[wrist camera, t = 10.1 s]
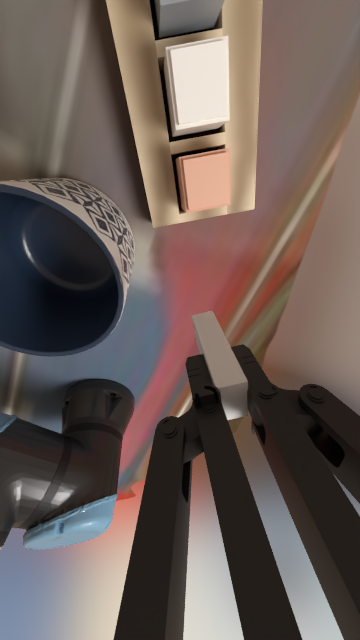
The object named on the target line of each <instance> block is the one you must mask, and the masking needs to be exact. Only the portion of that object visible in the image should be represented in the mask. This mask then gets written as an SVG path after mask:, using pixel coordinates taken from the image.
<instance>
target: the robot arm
mask: <svg viewBox="0 0 360 640" xmlns="http://www.w3.org/2000/svg"><path fill="white" fill-rule="evenodd" d="M192 319H193V325H194V330H195V336H196V341H197V346H198V349H199V352H200V355H196V356H192V357H188V358H187V361H186V369H187V373H188V378H189V383H190V387H191V392H192V399H193V403H192V406H191V408H190V409H189V411H188V412H186V413H185V414H184V415H182V416H180V417H178V418H177V417H173V416H170V417H166V418H164V419H162V420H161V421H160V422H159V423H158V425H157V427H156V430H155V435H154V440H153V445H152V450H151V455H150V460H149V465H148V470H147V475H146V481H145V485H144V491H143V495H142V500H141V505H140V511H139V515H138V521H137V526H136V530H135V536H134V540H133V545H132V551H131V556H130V560H129V566H128V570H127V575H126V581H125V585H124V591H123V596H122V600H121V605H120V611H119V615H118V620H117V626H116V630H115V636H114V640H183V630H184V611H185V591H186V573H187V555H188V536H189V535H188V534H189V516H190V498H191V478H192V461H193V458H195V457H196V456H198V455H199V454H201V453H202V452H204V454H205V459H206V463H207V468H208V473H209V477H210V482H211V487H212V491H213V496H214V501H215V505H216V510H217V515H218V519H219V524H220V528H221V533H222V537H223V543H224V547H225V552H226V556H227V561H228V566H229V571H230V575H231V580H232V584H233V589H234V594H235V599H236V603H237V608H238V613H239V617H240V622H241V627H242V631H243V636H244V640H302V638H301V634H300V631H299V628H298V626H297V623H296V620H295V617H294V614H293V611H292V608H291V605H290V602H289V599H288V596H287V593H286V591H285V587H284V584H283V582H282V578H281V576H280V573H279V570H278V567H277V564H276V561H275V558H274V555H273V552H272V549H271V546H270V543H269V540H268V537H267V534H266V531H265V529H264V526H263V523H262V520H261V517H260V514H259V511H258V508H257V505H256V502H255V500H254V496H253V494H252V491H251V488H250V485H249V482H248V479H247V476H246V473H245V470H244V467H243V464H242V461H241V458H240V455H239V452H238V449H237V446H236V443H235V440H234V438H233V435H232V432H231V429H230V426H229V423H228V420H230V419H234V418H239V417H243V416H247V415H248V411H249V413H250V415H251V417H252V433H253V434H254V433H255V432H256V435H257V437H258V440H259V442H260V444H261V446H262V449H263V451H264V454H265V456H266V458H267V461H268V463H269V465H270V468H271V470H272V472H273V475H274V477H275V479H276V482H277V484H278V486H279V489H280V491H281V493H282V495H283V498H284V500H285V503H286V505H287V507H288V510H289V512H290V514H291V517H292V519H293V521H294V524H295V526H296V528H297V531H298V533H299V535H300V538H301V540H302V542H303V545H304V547H305V549H306V552H307V554H308V556H309V559H310V561H311V563H312V566H313V568H314V570H315V573H316V575H317V577H318V580H319V582H320V584H321V587H322V589H323V591H324V593H325V596H326V598H327V600H328V603H329V605H330V608H331V610H332V612H333V614H334V617H335V619H336V621H337V624H338V626H339V629H340V631H341V633H342V636H343V638H344V640H360V516H359V515H358V513H357V512H356V510H355V508H354V507H353V505H352V504H351V502H350V501H349V499H348V497H347V496H346V494H345V492H344V491H343V489H342V488H341V486H340V485H339V483H338V482H337V480H336V478H335V477H334V475H335V476H336V477H337V478H338V480H340V482H341V483H342V484H343V485H344V486H345V488H346V489H347V490H348V491H349V492H350V493H351V494H352V495H353V496H354V498H355V499H356V500H357V501H358V502H359V503H360V416H359V415H358V414H356V413H355V412H354V411H353V410H352V409H350V408H349V407H348V406H347V405H345V404H344V403H343V402H342V401H340V400H339V399H338V398H337V397H335V396H334V395H333V394H332V393H330V392H329V391H328V390H327V389H325V388H323V387H321V386H318V385H315V384H307V385H304V386H303V387H301V388H300V391H297V390H285V389H281V388H278V387H277V386H275V385H273V384H272V383H271V382H270V381H269V380H268V378H267V376H266V375H265V373H264V371H263V370H262V368H261V367H260V365H259V363H258V362H257V360H256V358H255V357H254V355H253V354H252V352H251V350H250V349H249V348H248V347H246V346H245V345H238V346H234V347H230V345H229V343H228V341H227V339H226V337H225V335H224V333H223V331H222V329H221V327H220V325H219V323H218V321H217V319H216V317H215V315H214V313H213V311H209V312H204V313H200V314H195V315H192ZM134 402H135V401H134V396H133V394H132V393H131V392H130V390H128V389H127V388H126V387H125V386H123V385H121V384H119V383H116V382H113V381H109V380H101V379H95V380H87V381H83V382H80V383H78V384H76V385H74V386H72V387H71V388H70V389H69V390H68V392H67V393H66V396H65V398H64V401H63V404H62V433H61V434H60V433H57V432H54V431H51V430H49V429H46V428H43V427H41V426H38V425H35V424H32V423H30V422H27V421H24V420H22V419H19V418H16V417H17V416H16V415H12V416H11V415H7V414H4V413H0V550H1V548H2V547H3V545H4V543H5V541H6V539H7V536H8V534H9V532H10V530H11V528H12V527H14V528H22V529H26V532H25V533H24V535H23V546H24V547H25V548H29V549H35V550H39V549H50V548H57V547H63V546H68V545H73V544H77V543H81V542H84V541H87V540H90V539H93V538H95V537H97V536H99V535H101V534H102V533H104V532H105V531H106V530H107V529H108V528H109V526H110V524H111V522H112V518H113V512H114V507H115V501H116V499H117V485H118V476H119V466H120V457H121V448H122V439H123V435H124V432H125V430H126V428H127V426H128V424H129V421H130V419H131V417H132V415H133V411H134ZM333 474H334V475H333Z"/></svg>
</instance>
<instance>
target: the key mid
mask: <svg viewBox="0 0 360 640" xmlns="http://www.w3.org/2000/svg"><path fill="white" fill-rule="evenodd" d="M164 78H165V85H166V93H167V100H168V108H169V115H170V123H171V131H172V137H175V136H180V135H186V134H191V133H196V132H202V131H207V130H213V129H218V128H219V127H221V126H222V125H223V124H225V123H226V122H228V121H229V120H230V112H229V48H228V36H223V37H218V38H212V39H207V40H202V41H196V42H191V43H186V44H180V45H175V46H170V47H166V49H165V59H164Z"/></svg>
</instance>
